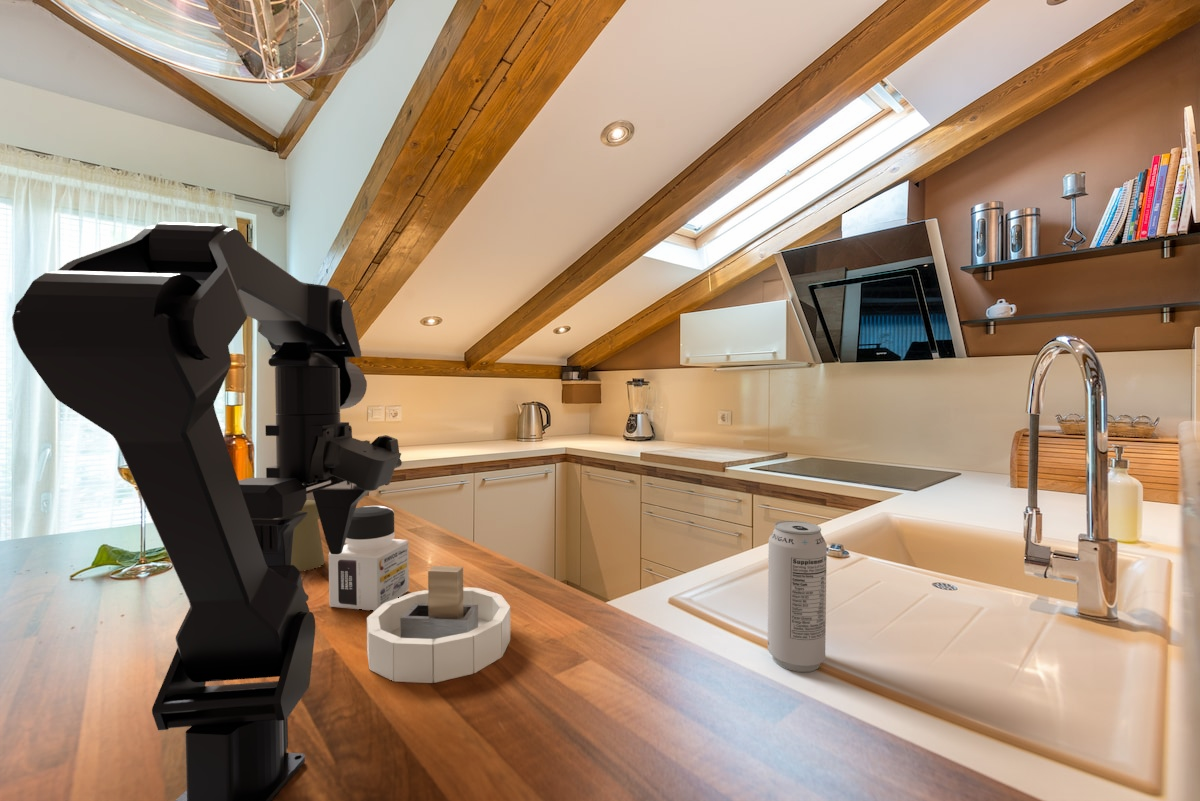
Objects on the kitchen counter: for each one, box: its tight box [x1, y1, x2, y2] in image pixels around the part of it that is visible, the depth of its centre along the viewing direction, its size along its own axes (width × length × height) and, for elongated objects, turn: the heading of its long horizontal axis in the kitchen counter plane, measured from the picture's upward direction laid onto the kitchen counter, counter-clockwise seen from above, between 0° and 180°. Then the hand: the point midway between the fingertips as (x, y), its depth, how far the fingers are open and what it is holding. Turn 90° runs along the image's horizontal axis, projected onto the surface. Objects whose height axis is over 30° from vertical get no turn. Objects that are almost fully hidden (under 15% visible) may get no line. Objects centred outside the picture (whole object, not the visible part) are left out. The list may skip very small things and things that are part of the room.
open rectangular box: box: [400, 603, 478, 639], centre depth 64 cm, size 5×8×3 cm, turn 86°
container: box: [328, 505, 410, 612], centre depth 77 cm, size 8×8×13 cm
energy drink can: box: [767, 520, 828, 673], centre depth 60 cm, size 6×6×15 cm
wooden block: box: [427, 565, 464, 618], centre depth 63 cm, size 2×4×8 cm, turn 83°
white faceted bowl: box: [366, 586, 511, 684], centre depth 64 cm, size 16×16×4 cm
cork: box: [291, 499, 326, 572], centre depth 92 cm, size 6×6×11 cm
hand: (311, 567), depth 55 cm, fingers open, 9 cm apart
